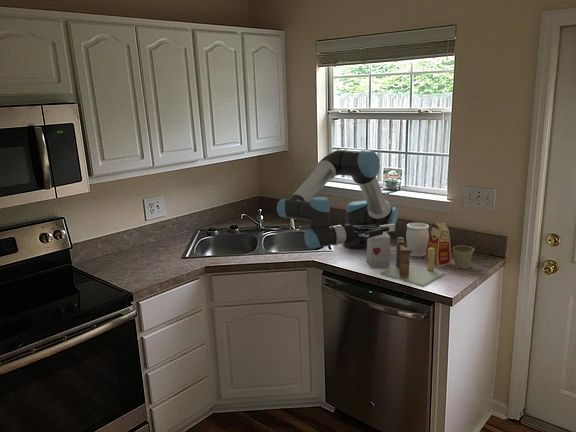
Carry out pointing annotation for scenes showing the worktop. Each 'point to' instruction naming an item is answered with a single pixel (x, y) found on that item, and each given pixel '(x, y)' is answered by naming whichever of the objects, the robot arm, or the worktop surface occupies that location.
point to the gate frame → (415, 270)
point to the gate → (403, 259)
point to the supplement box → (378, 251)
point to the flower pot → (462, 256)
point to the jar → (417, 238)
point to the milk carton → (440, 245)
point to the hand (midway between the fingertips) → (394, 227)
